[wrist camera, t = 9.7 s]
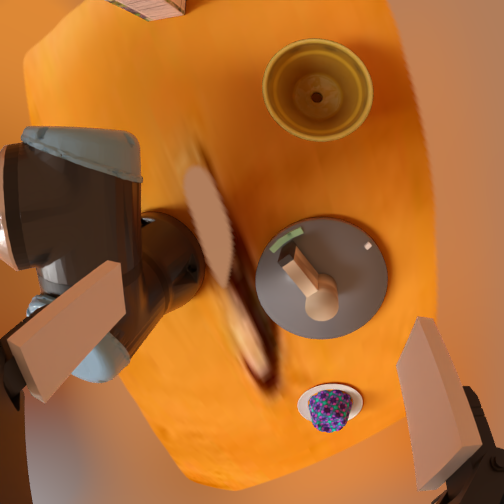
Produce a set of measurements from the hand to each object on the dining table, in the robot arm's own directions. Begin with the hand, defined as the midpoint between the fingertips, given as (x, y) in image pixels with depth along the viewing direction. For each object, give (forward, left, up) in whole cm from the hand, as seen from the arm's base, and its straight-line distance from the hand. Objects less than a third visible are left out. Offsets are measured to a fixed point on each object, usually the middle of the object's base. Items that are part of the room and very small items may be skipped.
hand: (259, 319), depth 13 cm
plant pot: (+10, +6, -29) cm, 31 cm away
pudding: (-23, -31, -29) cm, 48 cm away
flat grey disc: (-7, -11, -29) cm, 32 cm away
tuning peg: (-7, -8, -27) cm, 29 cm away
